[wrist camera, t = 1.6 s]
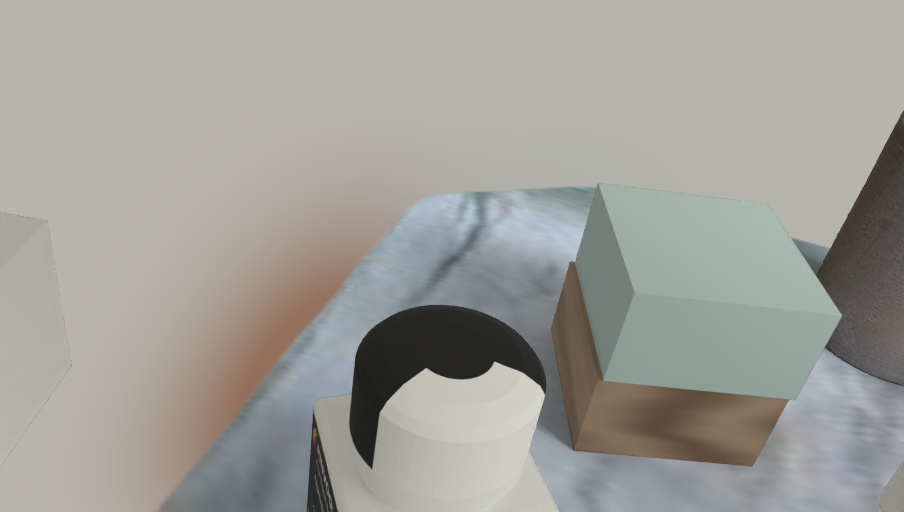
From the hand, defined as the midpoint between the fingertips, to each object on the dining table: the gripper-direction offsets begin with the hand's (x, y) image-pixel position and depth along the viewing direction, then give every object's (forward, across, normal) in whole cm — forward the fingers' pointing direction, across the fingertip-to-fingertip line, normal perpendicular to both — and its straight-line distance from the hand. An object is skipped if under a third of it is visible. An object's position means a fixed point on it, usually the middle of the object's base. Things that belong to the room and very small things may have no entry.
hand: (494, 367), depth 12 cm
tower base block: (+22, +11, -20) cm, 32 cm away
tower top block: (+22, +11, -15) cm, 29 cm away
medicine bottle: (+10, 0, -20) cm, 23 cm away
